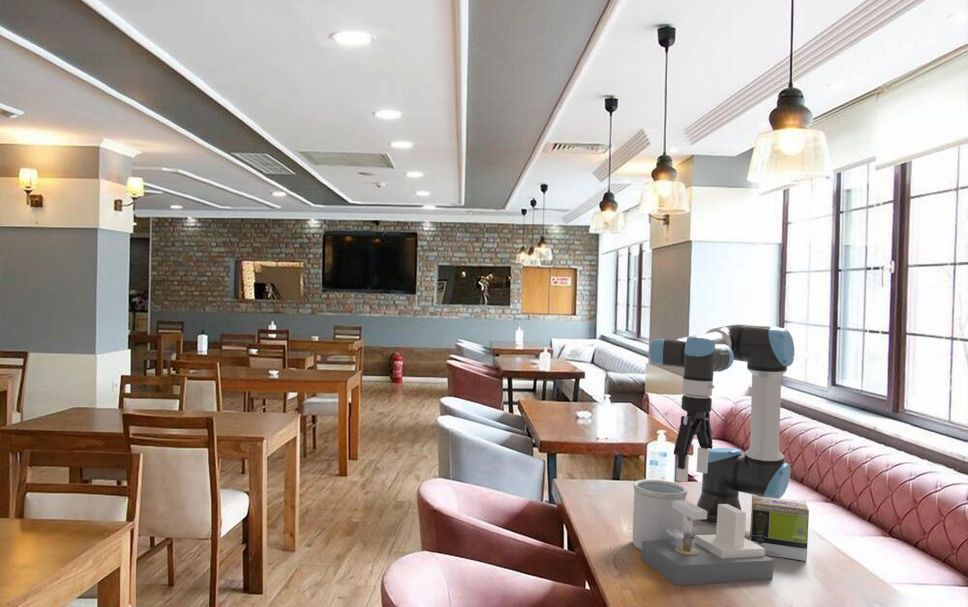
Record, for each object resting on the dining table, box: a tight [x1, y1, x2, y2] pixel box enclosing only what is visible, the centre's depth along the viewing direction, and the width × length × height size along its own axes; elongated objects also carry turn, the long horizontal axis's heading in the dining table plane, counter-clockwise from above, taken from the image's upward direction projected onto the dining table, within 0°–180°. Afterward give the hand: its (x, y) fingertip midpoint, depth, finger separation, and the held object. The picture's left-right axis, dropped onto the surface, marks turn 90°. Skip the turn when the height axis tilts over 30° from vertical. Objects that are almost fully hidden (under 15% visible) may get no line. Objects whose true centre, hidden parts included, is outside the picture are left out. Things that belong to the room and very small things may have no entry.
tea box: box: [749, 495, 810, 562], centre depth 212 cm, size 15×10×15 cm, turn 71°
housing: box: [640, 538, 774, 587], centre depth 195 cm, size 28×18×5 cm, turn 107°
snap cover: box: [694, 504, 765, 558], centre depth 197 cm, size 13×12×11 cm
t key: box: [666, 499, 707, 551], centre depth 194 cm, size 14×4×12 cm, turn 17°
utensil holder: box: [632, 478, 688, 551], centre depth 211 cm, size 15×15×18 cm
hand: (692, 476), depth 193 cm, fingers open, 13 cm apart
